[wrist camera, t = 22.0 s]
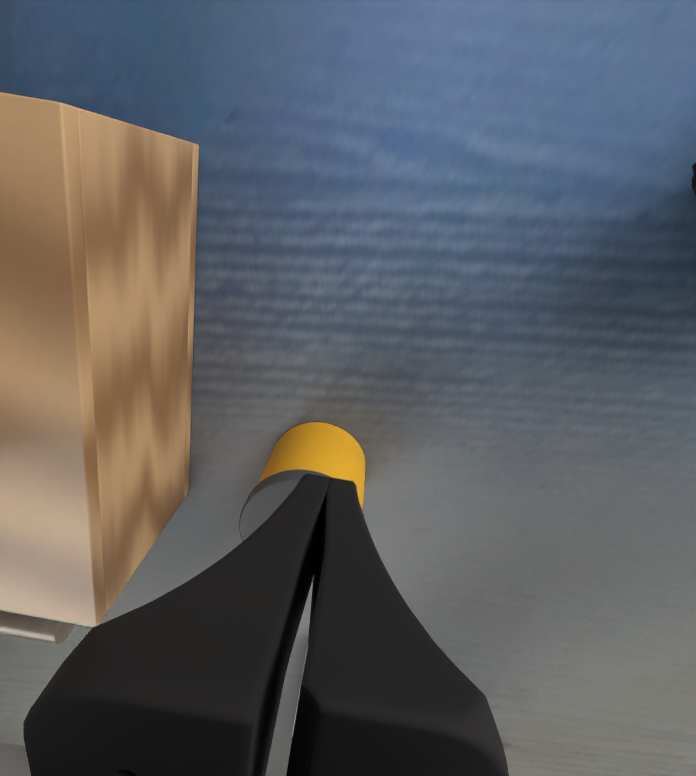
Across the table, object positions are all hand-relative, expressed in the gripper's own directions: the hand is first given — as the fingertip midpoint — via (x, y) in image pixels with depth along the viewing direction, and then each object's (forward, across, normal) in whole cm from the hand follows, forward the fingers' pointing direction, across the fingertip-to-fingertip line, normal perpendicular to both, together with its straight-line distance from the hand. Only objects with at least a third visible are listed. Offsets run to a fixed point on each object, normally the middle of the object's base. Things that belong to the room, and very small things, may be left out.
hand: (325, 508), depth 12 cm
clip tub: (+10, +1, +5) cm, 11 cm away
